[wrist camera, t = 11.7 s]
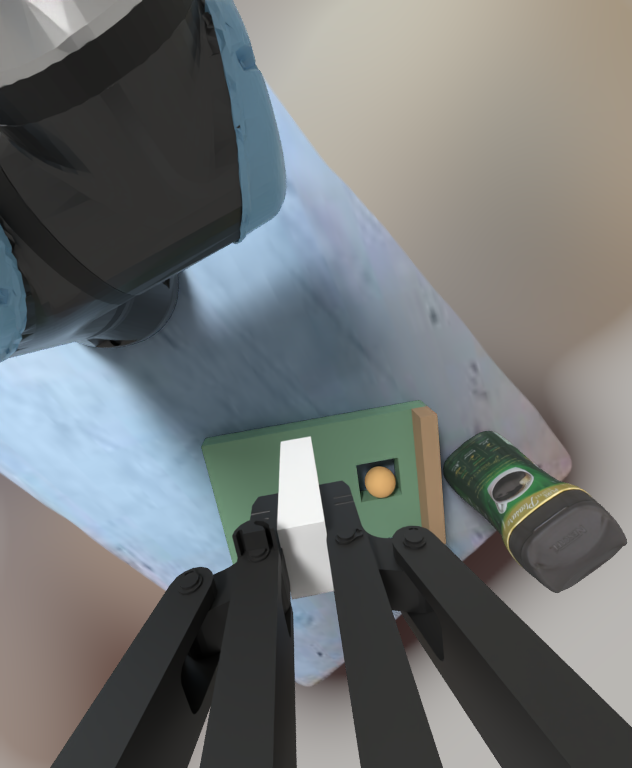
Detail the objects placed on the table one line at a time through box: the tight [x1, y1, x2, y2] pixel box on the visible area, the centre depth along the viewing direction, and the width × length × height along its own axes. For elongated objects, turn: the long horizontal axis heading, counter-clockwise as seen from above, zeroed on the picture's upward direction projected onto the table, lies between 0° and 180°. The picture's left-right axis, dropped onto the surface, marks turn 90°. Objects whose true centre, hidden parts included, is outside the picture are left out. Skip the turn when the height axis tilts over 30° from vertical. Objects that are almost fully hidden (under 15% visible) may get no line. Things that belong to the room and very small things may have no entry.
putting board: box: [201, 400, 446, 564], centre depth 45 cm, size 28×18×6 cm, turn 99°
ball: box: [365, 466, 396, 498], centre depth 46 cm, size 4×4×4 cm
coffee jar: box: [443, 431, 627, 593], centre depth 40 cm, size 10×8×19 cm
